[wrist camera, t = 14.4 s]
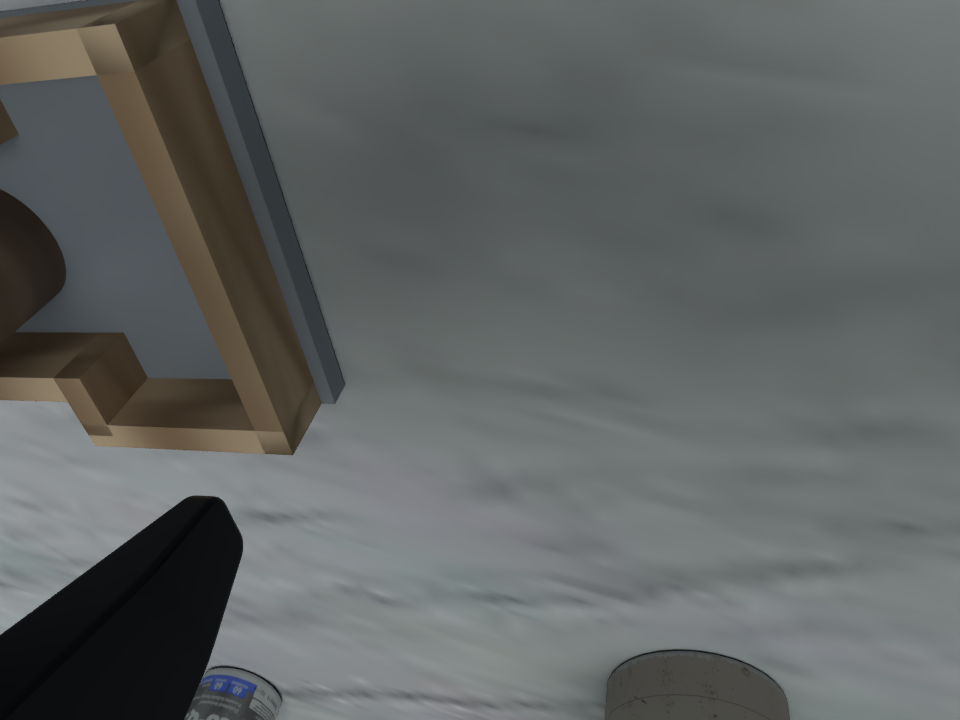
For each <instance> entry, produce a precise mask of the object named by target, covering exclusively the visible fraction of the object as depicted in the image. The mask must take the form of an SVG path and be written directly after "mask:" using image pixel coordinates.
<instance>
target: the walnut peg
mask: <svg viewBox="0 0 960 720" xmlns="http://www.w3.org/2000/svg"><path fill="white" fill-rule="evenodd" d="M65 280H66V265H65V260H64V257H63V254H62V251H61V249H60V247H59V245H58V243H57V241H56V239H55V238H54V236H53V234H52V233H51V232H50V230H49V229H48V228H47V226H46V225H45V224H44V223H43V222H42V220H41V219H40V218H39V217H38V216H37V215H36V214H35V213H34V212H33V211H32V210H31V209H29V208H28V207H27V206H26V205H25V204H23V203H22V202H21V201H19V200H18V199H16V198H15V197H13V196H12V195H10V194H8V193H7V192H5V191H3V190H1V189H0V344H1V343H2V342H4V341H5V340H6V339H7V338H8V337H9V336H10V335H12V334H13V333H14V332H15V331H16V330H17V329H19V328H20V327H21V326H22V325H23V324H24V323H25V322H27V321H28V320H29V319H30V318H31V317H32V316H33V315H35V314H36V313H37V312H38V311H39V310H40V309H41V308H43V307H44V306H45V305H46V304H47V303H48V302H50V301H51V300H52V299H53V298H54V297H55V296H56V295H58V293H59V292H60V291H61V290H62V288H63V286H64V283H65Z"/></svg>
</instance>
